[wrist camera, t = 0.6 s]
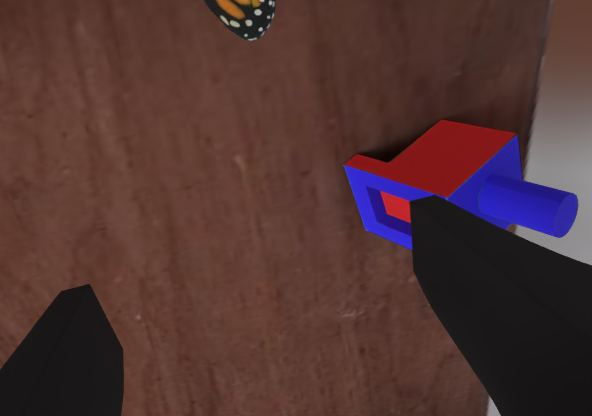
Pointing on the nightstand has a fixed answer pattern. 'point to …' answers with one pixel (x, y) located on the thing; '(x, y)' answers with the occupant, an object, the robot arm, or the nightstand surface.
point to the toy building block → (457, 183)
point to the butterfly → (244, 16)
